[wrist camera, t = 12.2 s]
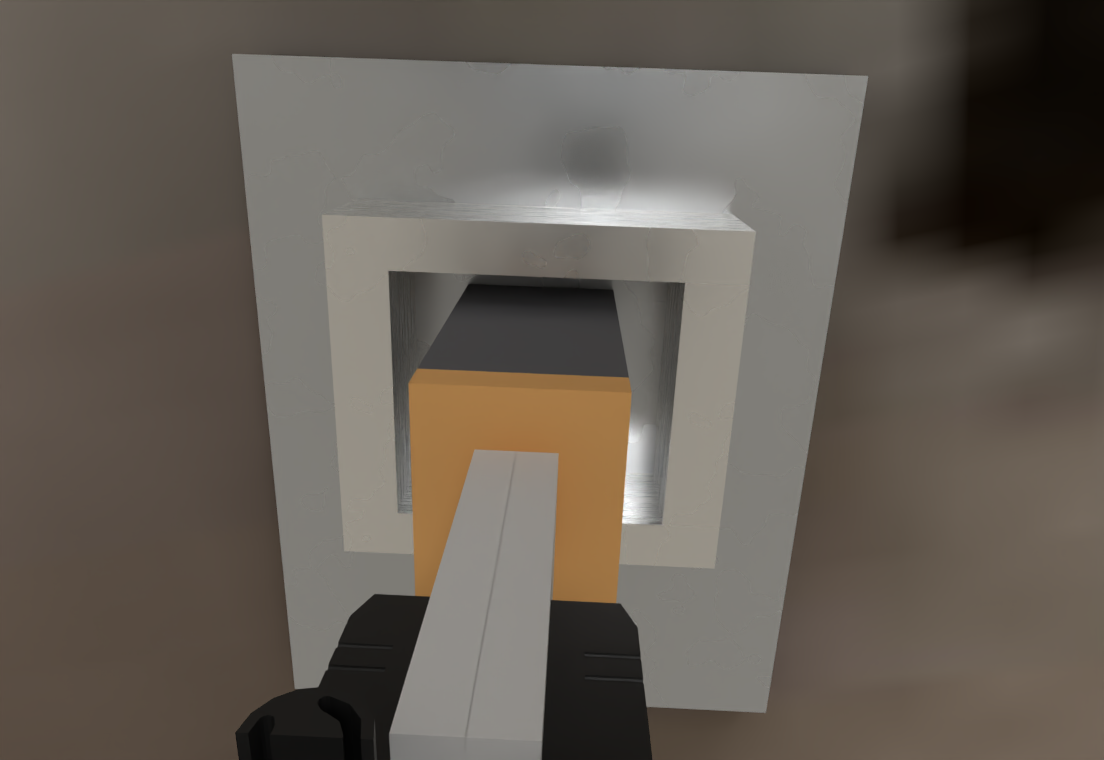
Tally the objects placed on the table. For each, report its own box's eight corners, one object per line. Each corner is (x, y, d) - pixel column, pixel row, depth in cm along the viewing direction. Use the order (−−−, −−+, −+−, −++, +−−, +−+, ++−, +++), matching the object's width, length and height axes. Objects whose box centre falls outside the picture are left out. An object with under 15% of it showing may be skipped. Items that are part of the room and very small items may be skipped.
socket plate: (247, 55, 21) (173, 45, 17) (854, 77, 20) (918, 71, 16) (304, 668, 27) (260, 759, 24) (759, 691, 27) (788, 787, 23)
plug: (468, 283, 21) (408, 383, 14) (613, 289, 21) (631, 392, 14) (468, 448, 23) (415, 615, 16) (603, 453, 23) (614, 625, 15)
